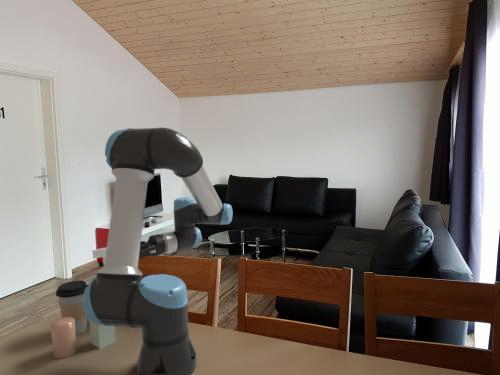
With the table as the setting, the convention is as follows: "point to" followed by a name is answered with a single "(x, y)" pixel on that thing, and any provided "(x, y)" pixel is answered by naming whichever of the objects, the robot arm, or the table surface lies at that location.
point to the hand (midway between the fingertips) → (98, 257)
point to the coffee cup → (73, 303)
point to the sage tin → (102, 334)
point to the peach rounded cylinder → (63, 337)
